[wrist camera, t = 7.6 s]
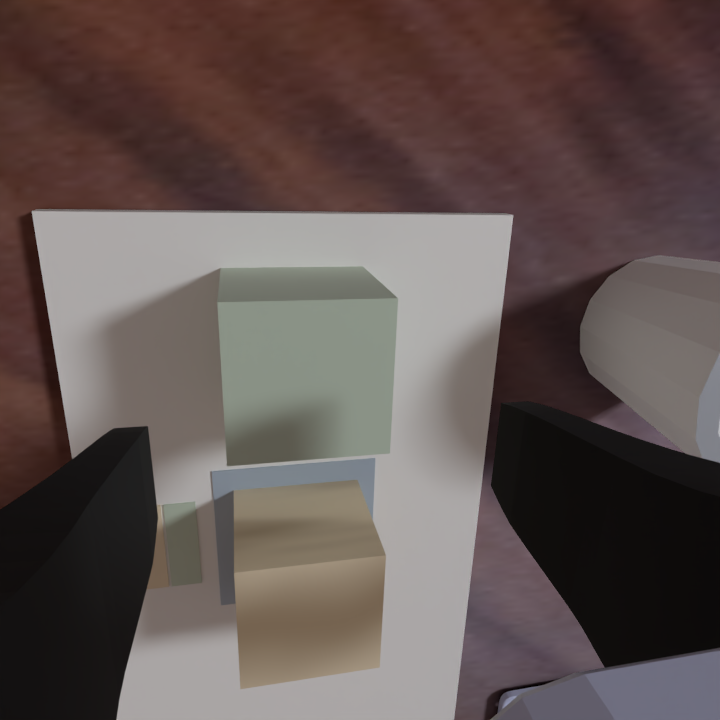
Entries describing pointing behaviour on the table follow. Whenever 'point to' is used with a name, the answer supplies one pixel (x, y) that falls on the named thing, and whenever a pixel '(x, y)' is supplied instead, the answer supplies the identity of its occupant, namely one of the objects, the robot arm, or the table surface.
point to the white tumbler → (661, 346)
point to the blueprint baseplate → (218, 481)
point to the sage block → (305, 363)
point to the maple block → (306, 582)
